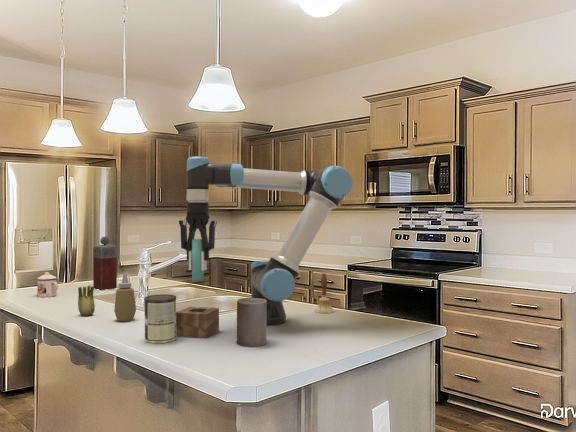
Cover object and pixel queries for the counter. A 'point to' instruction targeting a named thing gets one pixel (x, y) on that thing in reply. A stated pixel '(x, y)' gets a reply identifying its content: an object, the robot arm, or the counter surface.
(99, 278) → the glass decanter
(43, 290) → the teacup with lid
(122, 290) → the squeeze bottle
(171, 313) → the coffee can
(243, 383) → the counter surface
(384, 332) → the counter surface
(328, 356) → the counter surface
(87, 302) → the fennel bulb
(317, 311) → the hand bell
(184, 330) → the socket block
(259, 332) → the pillar candle
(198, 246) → the dowel
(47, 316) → the counter surface
